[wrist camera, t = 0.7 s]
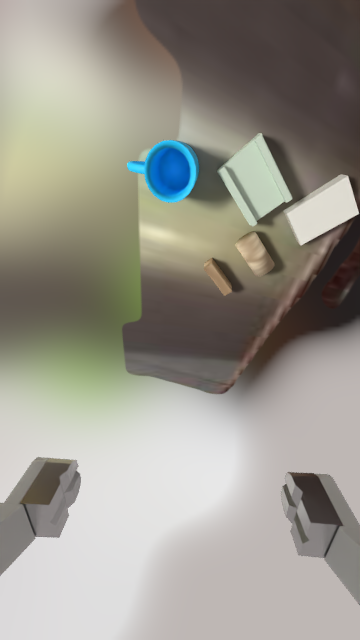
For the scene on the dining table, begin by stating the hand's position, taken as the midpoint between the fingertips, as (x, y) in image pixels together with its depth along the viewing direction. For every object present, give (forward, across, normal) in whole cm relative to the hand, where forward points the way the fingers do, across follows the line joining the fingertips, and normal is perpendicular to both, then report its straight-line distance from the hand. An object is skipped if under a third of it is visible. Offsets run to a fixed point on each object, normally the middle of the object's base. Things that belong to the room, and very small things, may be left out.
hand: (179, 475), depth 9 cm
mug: (+43, +5, -19) cm, 48 cm away
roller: (+46, -14, -5) cm, 48 cm away
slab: (+43, -24, -13) cm, 51 cm away
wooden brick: (+48, -6, +1) cm, 48 cm away
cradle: (+42, -11, -17) cm, 47 cm away
